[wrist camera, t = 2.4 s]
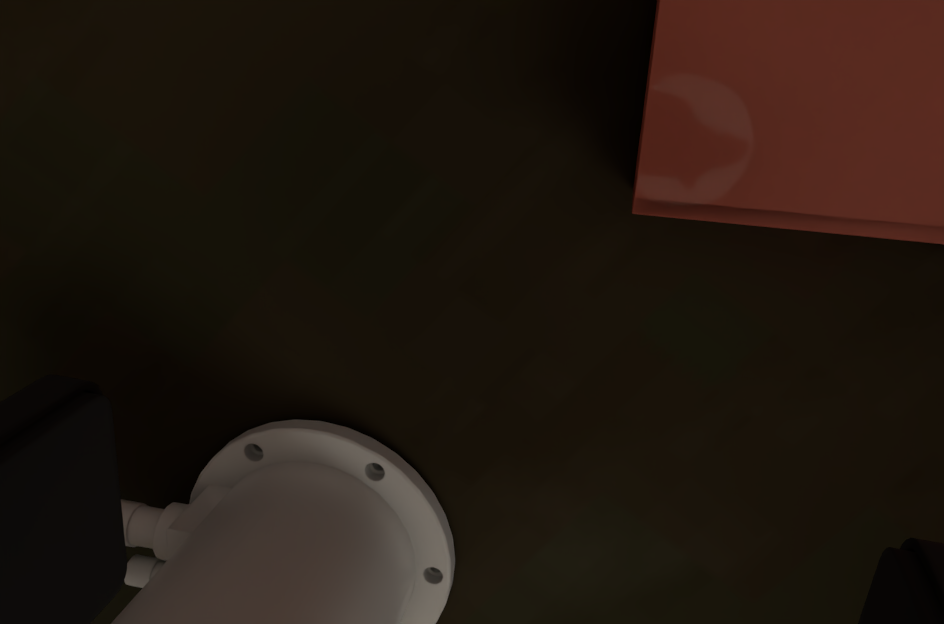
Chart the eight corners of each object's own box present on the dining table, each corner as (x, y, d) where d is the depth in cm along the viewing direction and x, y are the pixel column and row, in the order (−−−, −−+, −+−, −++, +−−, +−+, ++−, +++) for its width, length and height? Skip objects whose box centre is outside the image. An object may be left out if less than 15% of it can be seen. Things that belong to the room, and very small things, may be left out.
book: (632, 190, 29) (631, 213, 25) (676, -154, 25) (682, -185, 22) (1122, 236, 26) (1200, 269, 23) (1253, -141, 23) (1372, -174, 19)
